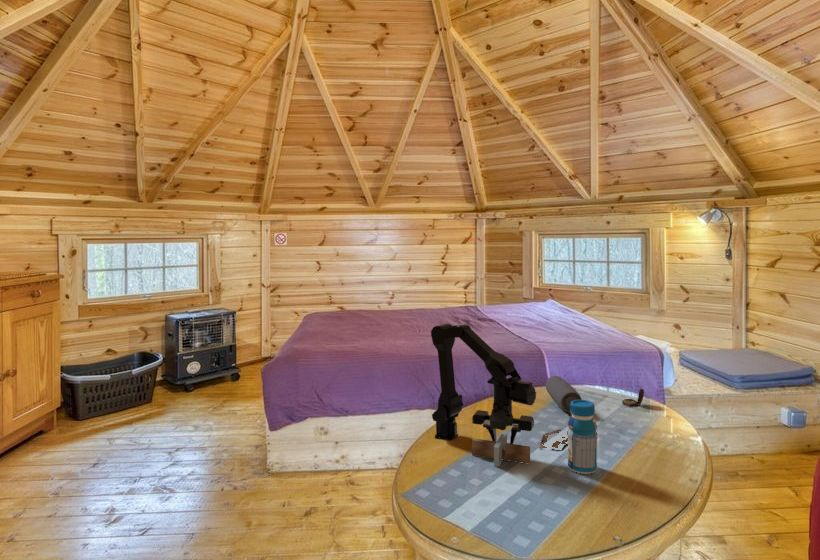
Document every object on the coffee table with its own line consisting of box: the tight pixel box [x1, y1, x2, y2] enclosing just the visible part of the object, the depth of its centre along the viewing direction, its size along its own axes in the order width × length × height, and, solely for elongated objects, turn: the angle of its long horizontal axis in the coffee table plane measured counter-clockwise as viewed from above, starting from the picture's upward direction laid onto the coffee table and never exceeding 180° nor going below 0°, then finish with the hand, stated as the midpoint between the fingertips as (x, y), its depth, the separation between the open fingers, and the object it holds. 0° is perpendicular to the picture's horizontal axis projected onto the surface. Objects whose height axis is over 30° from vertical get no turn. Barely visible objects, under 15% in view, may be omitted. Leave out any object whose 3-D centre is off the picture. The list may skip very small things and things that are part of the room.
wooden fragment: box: [538, 429, 568, 449], centre depth 165 cm, size 26×11×1 cm, turn 132°
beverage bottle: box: [567, 399, 599, 475], centre depth 142 cm, size 8×8×20 cm
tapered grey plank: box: [493, 431, 508, 467], centre depth 151 cm, size 2×12×6 cm, turn 156°
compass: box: [621, 387, 645, 407], centre depth 195 cm, size 8×8×7 cm
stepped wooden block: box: [471, 438, 531, 464], centre depth 150 cm, size 18×2×5 cm, turn 66°
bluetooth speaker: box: [544, 375, 583, 414], centre depth 196 cm, size 23×9×10 cm, turn 179°
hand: (503, 446), depth 153 cm, fingers open, 5 cm apart
